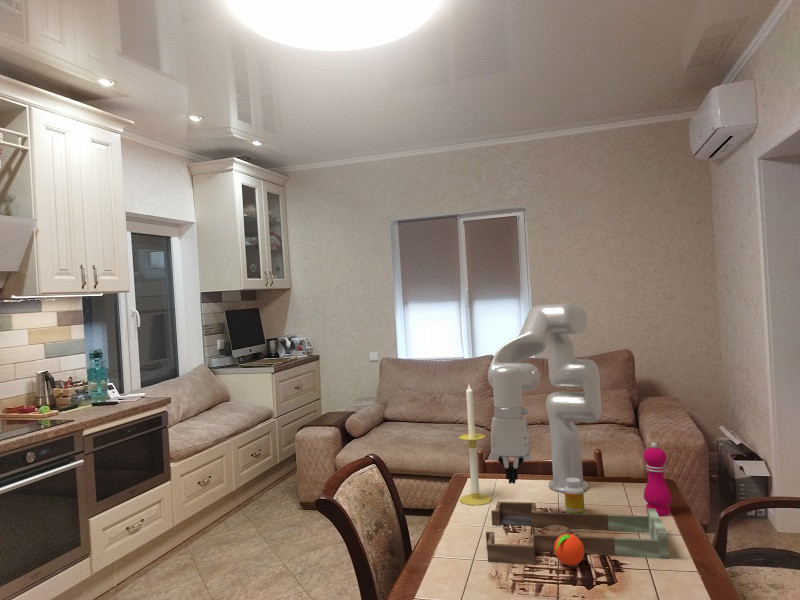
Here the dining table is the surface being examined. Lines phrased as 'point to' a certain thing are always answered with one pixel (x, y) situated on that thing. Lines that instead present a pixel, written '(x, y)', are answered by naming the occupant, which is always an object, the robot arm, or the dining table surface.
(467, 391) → the candle
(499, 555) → the channel
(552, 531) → the cookie
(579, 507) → the supplement bottle
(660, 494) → the pepper mill
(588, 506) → the dining table surface
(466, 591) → the dining table surface
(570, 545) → the clementine
